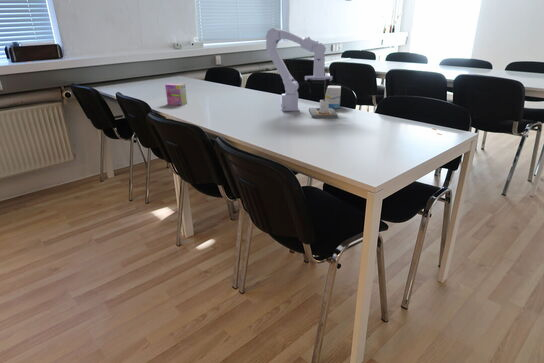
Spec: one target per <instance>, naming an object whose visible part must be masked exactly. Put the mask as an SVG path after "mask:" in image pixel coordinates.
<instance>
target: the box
mask: <svg viewBox="0 0 544 363" xmlns="http://www.w3.org/2000/svg"><path fill="white" fill-rule="evenodd" d="M164 85H165V86H164V87H165V93H166V95H165V96H166V101H167V105H173V106H184V105H187V104H188V98H187V88H186V83H171V82H170V83H166V84H164Z"/></svg>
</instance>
